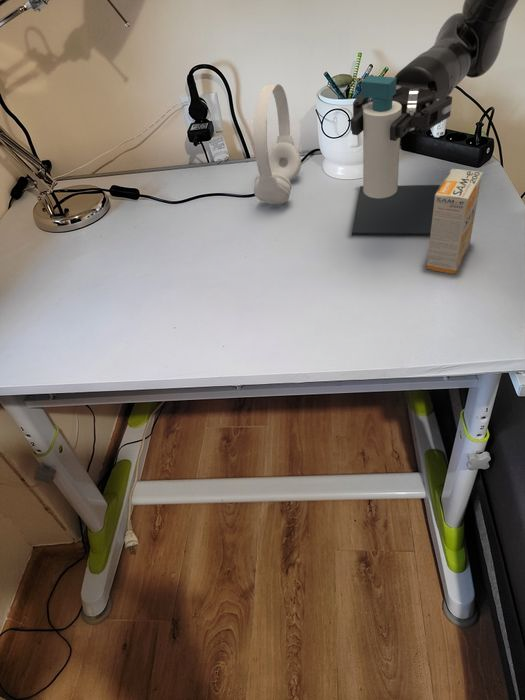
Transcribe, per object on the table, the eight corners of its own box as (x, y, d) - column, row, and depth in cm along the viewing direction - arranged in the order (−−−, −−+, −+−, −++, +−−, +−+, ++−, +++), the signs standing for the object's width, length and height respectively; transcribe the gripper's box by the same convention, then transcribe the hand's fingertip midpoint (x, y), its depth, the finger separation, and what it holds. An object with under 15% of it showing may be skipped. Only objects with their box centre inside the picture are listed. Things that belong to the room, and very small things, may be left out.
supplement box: (456, 276, 78) (469, 199, 69) (425, 269, 80) (433, 194, 71) (470, 246, 83) (484, 170, 73) (440, 240, 85) (450, 166, 75)
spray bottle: (403, 184, 76) (409, 74, 65) (388, 201, 74) (392, 88, 63) (372, 178, 79) (373, 71, 68) (356, 194, 76) (355, 85, 65)
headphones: (252, 217, 98) (233, 111, 84) (273, 170, 110) (260, 71, 96) (288, 217, 96) (275, 109, 82) (305, 170, 108) (297, 68, 94)
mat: (446, 187, 96) (446, 184, 95) (447, 236, 85) (448, 233, 85) (360, 188, 100) (360, 186, 100) (351, 235, 89) (351, 232, 89)
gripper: (382, 52, 77) (325, 96, 69) (478, 58, 70) (427, 107, 62) (381, 103, 82) (327, 150, 74) (469, 113, 75) (421, 166, 67)
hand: (373, 130), depth 68 cm, fingers closed on spray bottle, 5 cm apart
